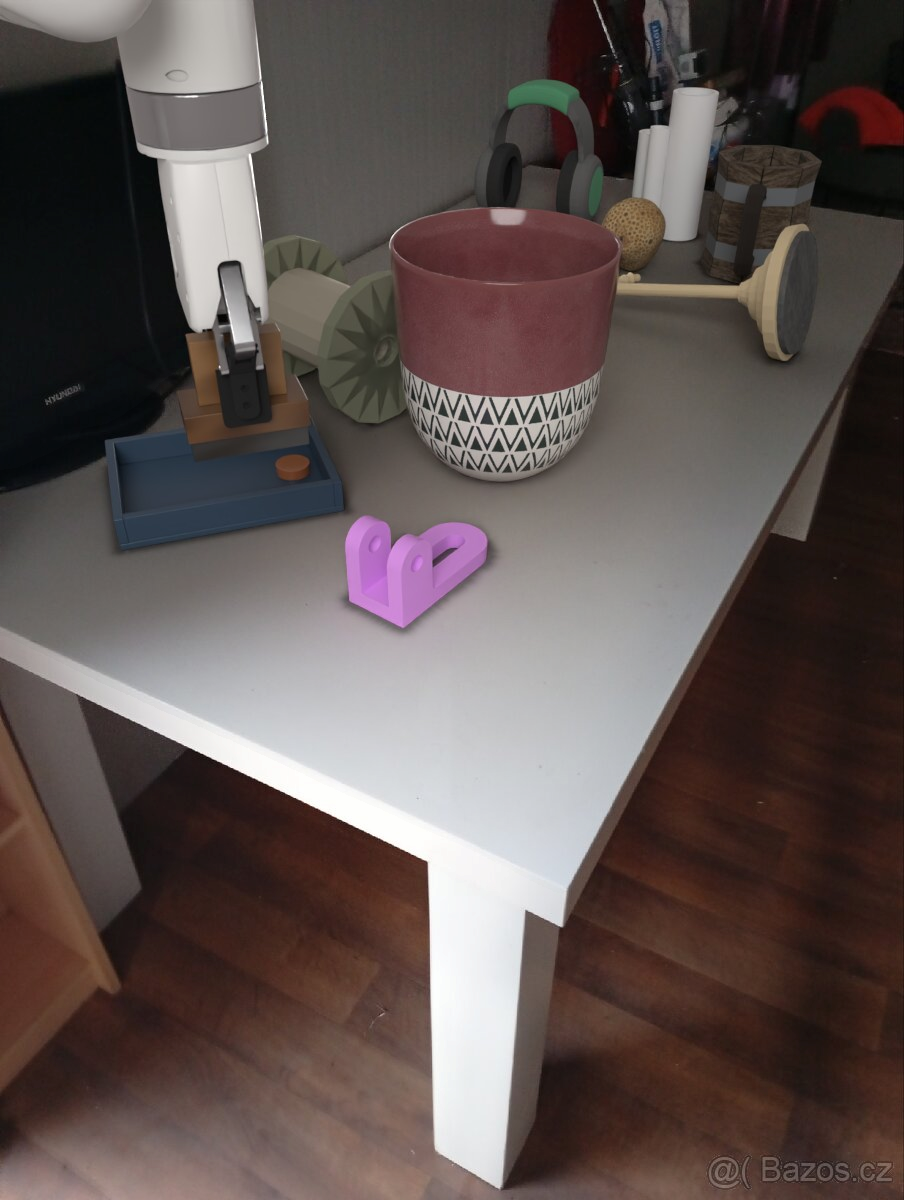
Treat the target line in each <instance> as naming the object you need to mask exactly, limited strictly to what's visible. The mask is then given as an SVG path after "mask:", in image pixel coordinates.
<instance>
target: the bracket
mask: <svg viewBox="0 0 904 1200" xmlns="http://www.w3.org/2000/svg"><path fill="white" fill-rule="evenodd" d="M450 549H455V550H454V551H453V552H451V553H450V554H449V555H447V556H445V558H444V559H442V560H441V561H440V562H438V563H437V564H436V565H435V566H434V565H433V561H434V560H435V559H436V558H438V557H439V556H440V555H442V554H443V553H444V552H445V551H447V550H450ZM344 550H345V551H344V552H345V563H346V575H347V576H346V577H347V589H348V599H349V602H350V603H353V604H355V605H356V606H358V607H360V608H362V609H364V610H366V611H368V612H370V613H372V614H374V615H376V616H378V617H380V618H382V619H384V620H386V621H388V622H390V623H392V624H394V625H396V626H398V627H400V628H402V629H404V628H406V627H407V626H408V625H409V624H410V623H412V622H413V621H414V620H416V619H417V618H418V617H419V616H421V615H422V614H423V613H425V611H427V610H428V609H430V608H431V607H432V606H433V605H434V604H435V603H437V602H438V601H439V600H441V598H443V597H444V596H446V594H448V593H449V592H451V590H453V589H454V588H455V587H457V586H458V585H459V584H460V583H462V582H463V581H464V580H466V578H468V577H469V576H470V575H471V574H473V573H474V572H475V571H476V570H478V569H479V568H481V567H482V565H484V563H485V562H486V560H487V557H488V537H487V535H486V534H485V532H484V531H483V530H481V529H480V528H478V527H477V526H474V525H473V524H469V523H466V522H465V523H464V522H453V521H452V522H444V523H439V524H437V525H434V526H432V527H430V528H429V529H427V530H426V531H424V532H423V533H422V534H420V535H419V536H417V535H414V534H412V533H406V534H404V535H402V536H401V537H399V539H397V540H396V542H395V543H394V545H393V546H392V538H391V529H390V526H389V525H388V523H387V522H385V521H383V520H381V519H378V518H376V517H374V516H372V515H368V514H367V515H363V516H360V517H359V518H358V519H357V520H355V522H354V523H353V524H352V525H351V527H350V529H349V530H348V532H347V535H346V538H345V543H344Z"/></svg>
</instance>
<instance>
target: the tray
mask: <svg viewBox="0 0 904 1200" xmlns="http://www.w3.org/2000/svg"><path fill="white" fill-rule="evenodd" d="M310 420H311V426H308V433H309V444H306V445H300V446H294V447H288V448H282V449H275V450H269V451H263V452H257V453H251V454H244V455H238V456H232V457H226V458H220V459H213V460H207V461H201V462H195V460H194V456H193V452H192V448H191V445H190V444H189V443H188V439H187V435H186V432H185V428H184V427H183V428H176V429H175V428H174V429H169V430H163V431H157V432H149V433H142V434H136V435H129V436H122V437H116V438H111V439H105V440H104V447H105V455H106V456H105V457H106V464H107V465H106V466H107V474H108V484H109V493H110V504H111V510H112V521H113V524H114V528H115V532H116V536H117V540H118V544H119V548H120V550H121V551H125V550H131V549H137V548H143V547H147V546H153V545H159V544H164V543H170V542H177V541H182V540H187V539H193V538H198V537H205V536H210V535H215V534H220V533H226V532H227V533H228V532H232V531H237V530H242V529H250V528H254V527H259V526H265V525H272V524H276V523H277V524H278V523H283V522H288V521H293V520H299V519H304V518H309V517H310V518H311V517H317V516H322V515H327V514H332V513H339V512H344V511H345V506H344V492H343V482H342V479H341V477H340V475H339V472H338V470H337V469H336V467H335V465H334V463H333V461H332V458H331V455H330V454H329V452H328V450H327V448H326V446H325V444H324V441H323V439H322V437H321V436H320V433H319V431H318V429H317V427H316V425H315V423H314V420H313V419H312V417H311V415H310ZM287 455H302V456H305V457H307V458H308V459H309V461H310V474H309V475H308V476H307V477H305V478H303V479H300V480H284V479H281V478H280V477H278V475H277V472H276V462H277V460H278V459H280V458H281V457H284V456H287Z"/></svg>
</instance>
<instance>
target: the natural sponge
mask: <svg viewBox="0 0 904 1200" xmlns="http://www.w3.org/2000/svg"><path fill="white" fill-rule="evenodd" d="M600 225H601V226H603V227H605V228H607V229H609V230H610V231H612V232H613V233H614V234H615V235H616V236H617V237H618V238H619V239H620V241H621V243H622V247H623V251H622V259H621V266H620V269H621V268H622V269H623V270H624V271H627V272H635V271H639V270H640V269H642V268H643V267H645V266H646V265H647V264H648V263H649V262H650V261H651V260H652V259H653V258H654V257H655V255H656V254H657V253H658V250H659V248H660V247H661V244H662V242H663V240H664V239H663V238H664V234H665V228H666V222H665V218H664V215H663V214H662V212H661V210H660V209H659V208H658V206H657V205H656V204H655V203H653V202H652V201H650V200H648V199H644V198H638V197H633V198H632V197H628V198H625V199H623V200H620V201H619V202H617V203H616V204H614V205H613V206H611V207H610V209H609V210H608V211H607V212H606V214H605V216H604V218H603V220H602V222H601V224H600Z"/></svg>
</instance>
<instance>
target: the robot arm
mask: <svg viewBox="0 0 904 1200" xmlns="http://www.w3.org/2000/svg"><path fill="white" fill-rule="evenodd" d="M0 20H1V21H4V22H7V23H11V24H14V25H17V26H20V27H24V28H27V29H33V30H36V31H38V32H42V33H45V34H47V35H50V36H52V37H56V38H59V39H62V40H66V41H70V42H75V43H95V42H96V43H97V42H104V41H106V40H110V39H113V38H116V41H117V46H118V52H119V57H120V64H121V69H122V74H123V79H124V83H125V89H126V95H127V100H128V105H129V111H130V116H131V121H132V127H133V133H134V137H135V142H136V143H135V144H136V148H137V151H138V152H139V153H140V154H142V155H146V157H149V158H154V159H156V160H157V161H156V162H157V170H158V171H157V172H158V179H159V187H160V193H161V200H162V201H161V202H162V206H163V212H164V219H165V224H166V230H167V231H166V232H167V237H168V242H169V247H170V253H171V259H172V265H173V272H174V280H175V286H176V290H177V291H176V292H177V294H178V297H179V300H180V304H181V306H182V310H183V313H184V316H185V319H186V322H187V324H188V327H189V328H190V329H191V330H192V331H193V332H194V333H202V332H203V330H204V331H205V332H207V331H213V336H214V341H215V347H216V353H217V358H218V364H219V369H218V370H215V372H216V379H217V385H218V391H219V397H220V403H221V409H222V416H223V421H224V424H225V426H226V427H228V428H234V427H241V426H247V425H254V424H260V423H267V422H269V421H271V419H272V412H271V404H270V396H269V388H268V380H267V372H266V366H265V364H264V363H263V357H262V351H261V344H260V338H259V332H258V323H259V325H263V324H264V323H265V322H266V321H267V319H268V318H269V303H268V291H267V280H266V270H265V260H264V252H263V245H264V244H263V236H262V229H261V221H260V220H261V219H260V212H259V204H258V197H257V190H256V183H255V174H254V168H253V159H252V154H254V153H256V152H260V151H261V150H263V149H265V148H266V147H267V146H268V145H269V135H268V125H267V120H266V119H267V118H266V117H267V116H266V109H265V98H264V89H263V81H262V70H261V61H260V51H259V43H258V42H259V41H258V34H257V33H258V32H257V25H256V24H257V23H256V14H255V5H254V0H0ZM257 321H258V323H257ZM223 334H231V342H227V345H226V347H225V343H224V337H223Z"/></svg>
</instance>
